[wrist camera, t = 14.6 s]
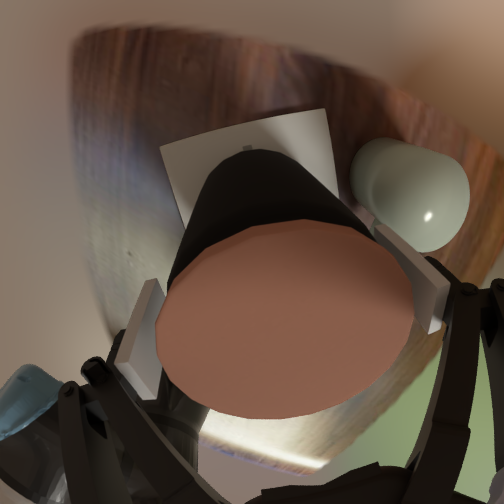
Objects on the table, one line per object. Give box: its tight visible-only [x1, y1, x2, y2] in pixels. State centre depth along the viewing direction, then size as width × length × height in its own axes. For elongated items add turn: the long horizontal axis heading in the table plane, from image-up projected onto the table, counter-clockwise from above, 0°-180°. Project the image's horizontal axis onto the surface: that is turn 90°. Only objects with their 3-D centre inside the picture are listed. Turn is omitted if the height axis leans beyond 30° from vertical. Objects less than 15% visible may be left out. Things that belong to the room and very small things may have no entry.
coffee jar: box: [155, 149, 415, 419], centre depth 19 cm, size 11×11×18 cm
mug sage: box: [349, 137, 470, 252], centre depth 23 cm, size 10×8×9 cm
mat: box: [159, 109, 339, 229], centre depth 27 cm, size 15×15×1 cm
